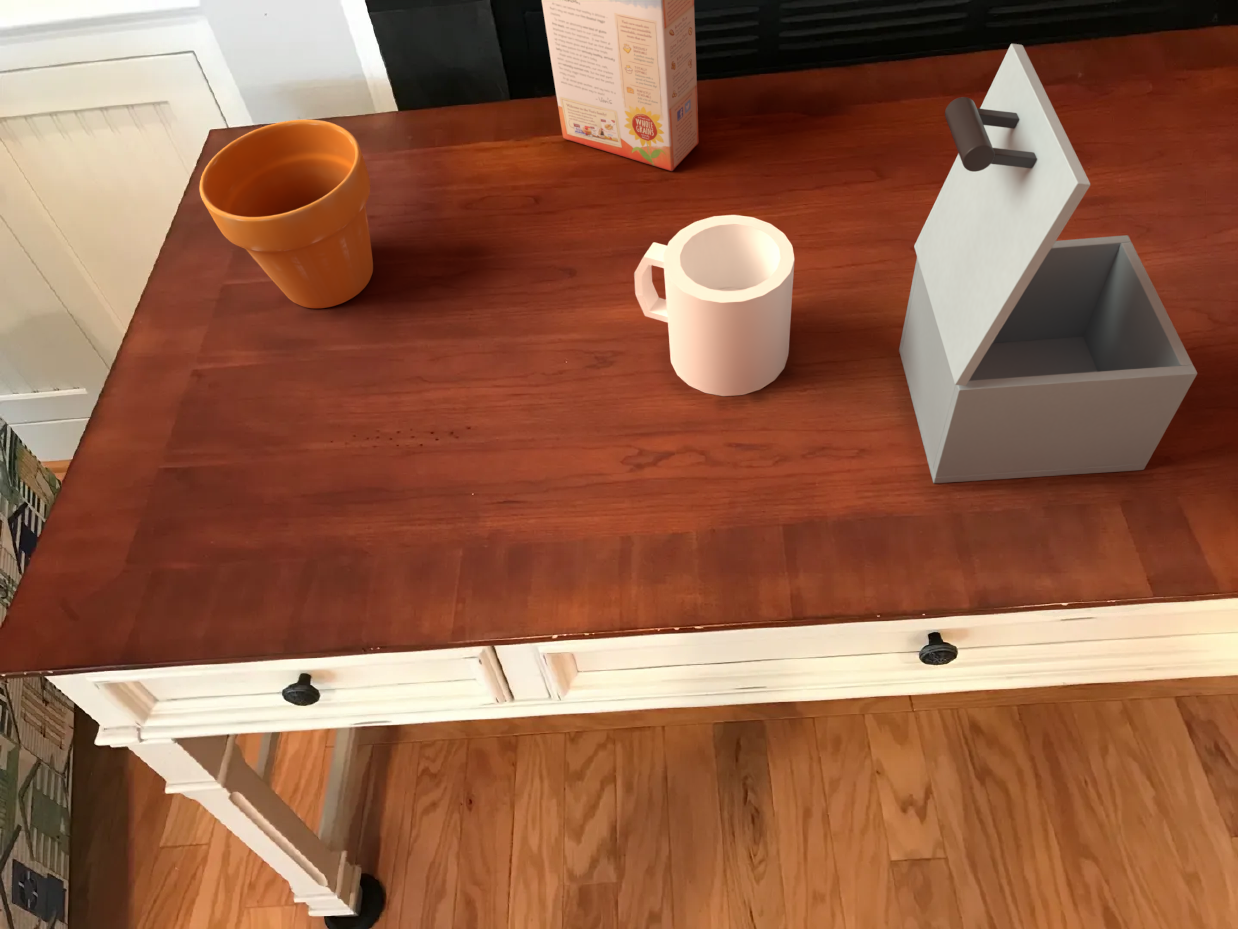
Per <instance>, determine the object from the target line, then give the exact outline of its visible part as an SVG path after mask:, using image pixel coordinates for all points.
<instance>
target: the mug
mask: <svg viewBox="0 0 1238 929" xmlns="http://www.w3.org/2000/svg"><path fill="white" fill-rule="evenodd" d="M653 266H654V267H658V268H662V269H663V276H664V289H665V298H662V297H659V295H658V292H657V290H656V287H655V284H654V283H653V271H652V270H653V268H652V267H653ZM794 271H795V254H794V248H793V244H792V243H791V241H790V240H789V239H788V237H787V236H786V234H785V233H784V232H783V231H782V230H780V229H778V228H777V227H776V226H775V225H773V224H772V223H770V222H767V221H764V220H761V219H759V218H756V217H754V216H746V215H739V214H726V215H713V216H710V217H707V218H704V219H700V220H697V221H694V222H693V223H691V224H689V225H687V226H686V227H684V228H682V229H680V230H679V231H677V233H676V234H675V235H674V236H673V237H672V238H671V239H670V240H669V241H668V243H667V245H666V244H662V243H658V242H652V243H651V245H650V246H649V248H648V249H647V251H646V252H645V254H644V255H643V256H642V258H641V260H640V261H639V263H638V265H637V267H636V268H635V270H634V273H633V277H634V279H633V280H634V293H635V294H634V295H635V297H636V299H637V302H638V304H639V306H640V309H641V312H642V313H643V316H644V317H646V318H650V319H652V320H653V319H654V320H657V321H661V322H664V323H667V330H668V341H669V342H668V343H669V355H670V363H671V365H672V367H673V369H674V372H675V373H676V375H677V377H679V378H680V379H681V380H682V381H683V382H684V383H686V385H687V386H689V387H691V388H693V389H696V390H698V391H700V392H702V393H705V394H708V395H715V396H721V397H732V396H745V395H747V394H750V393H755V392H758V391H760V390H762V389H763V388H764V387H766V386H768V385H769V384H771V383H772V382H774V381H776V379H777V378H778V377H779V376H780V374H781V373H782V372H783V370H784V369H785V368H786V365H787V362H788V357H789V351H790V337H791V336H790V335H791V319H792V306H793V304H792V303H793V289H794V288H793V287H794V274H795V273H794Z"/></svg>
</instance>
